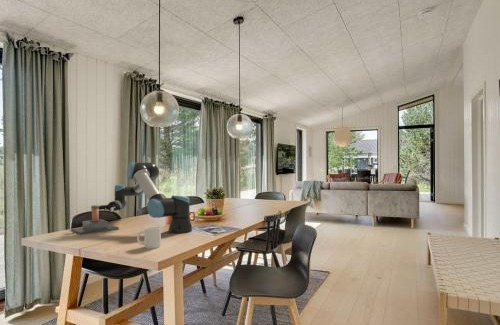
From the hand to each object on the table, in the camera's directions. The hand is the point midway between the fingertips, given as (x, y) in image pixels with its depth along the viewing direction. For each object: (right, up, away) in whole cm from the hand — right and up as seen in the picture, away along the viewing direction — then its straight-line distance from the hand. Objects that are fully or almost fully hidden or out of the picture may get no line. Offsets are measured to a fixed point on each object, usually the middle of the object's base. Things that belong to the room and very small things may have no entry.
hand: (101, 209), depth 226 cm
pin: (0, -11, -9) cm, 14 cm away
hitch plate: (0, -12, -9) cm, 15 cm away
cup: (+50, -12, -55) cm, 75 cm away
